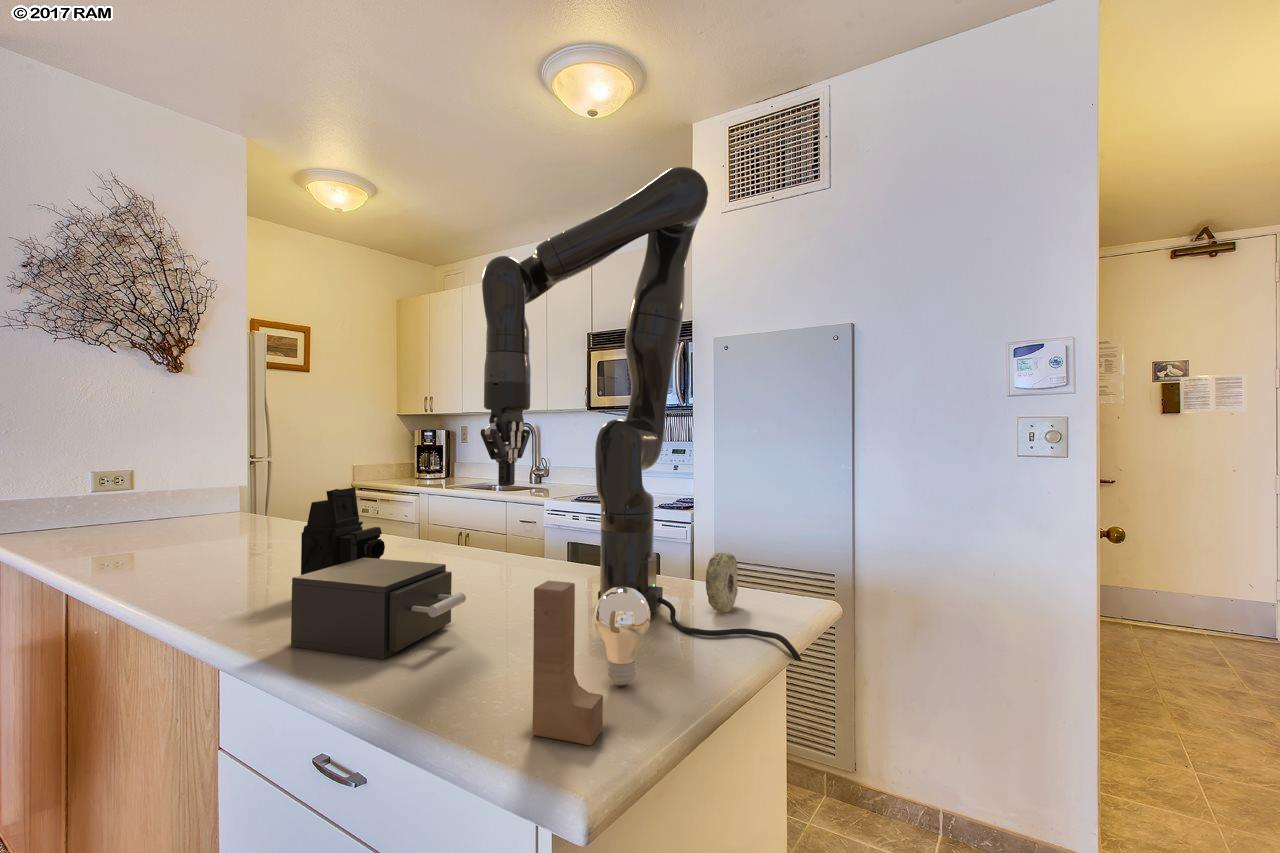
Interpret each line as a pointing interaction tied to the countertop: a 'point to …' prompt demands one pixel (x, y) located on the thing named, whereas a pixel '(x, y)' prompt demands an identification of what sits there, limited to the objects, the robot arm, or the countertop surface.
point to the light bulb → (622, 630)
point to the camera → (337, 533)
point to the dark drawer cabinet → (351, 605)
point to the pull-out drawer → (420, 609)
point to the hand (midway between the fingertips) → (506, 485)
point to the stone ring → (722, 581)
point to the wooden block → (560, 671)
